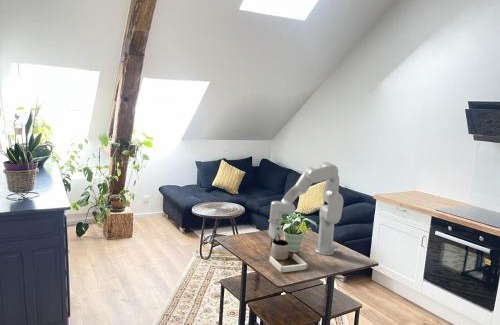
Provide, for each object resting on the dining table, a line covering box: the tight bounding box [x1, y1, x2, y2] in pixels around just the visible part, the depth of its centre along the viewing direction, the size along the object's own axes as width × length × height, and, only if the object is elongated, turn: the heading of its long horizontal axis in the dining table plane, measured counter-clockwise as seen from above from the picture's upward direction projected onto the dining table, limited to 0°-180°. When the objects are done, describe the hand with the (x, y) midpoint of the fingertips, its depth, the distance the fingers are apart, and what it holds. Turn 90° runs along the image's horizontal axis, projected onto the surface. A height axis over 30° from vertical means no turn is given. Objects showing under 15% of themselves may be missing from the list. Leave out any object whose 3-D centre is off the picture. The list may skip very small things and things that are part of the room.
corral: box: [269, 253, 309, 273], centre depth 220 cm, size 17×16×3 cm
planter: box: [270, 238, 290, 261], centre depth 231 cm, size 11×11×10 cm
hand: (273, 247), depth 238 cm, fingers closed
